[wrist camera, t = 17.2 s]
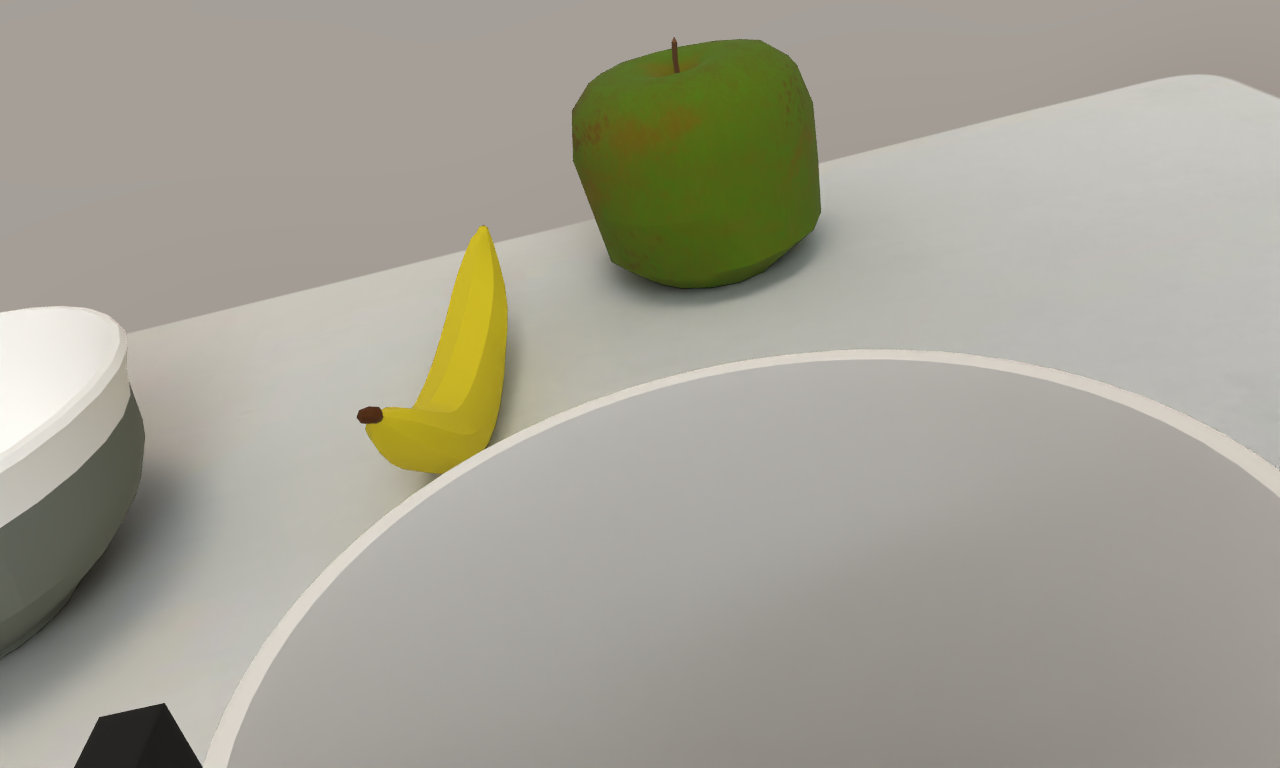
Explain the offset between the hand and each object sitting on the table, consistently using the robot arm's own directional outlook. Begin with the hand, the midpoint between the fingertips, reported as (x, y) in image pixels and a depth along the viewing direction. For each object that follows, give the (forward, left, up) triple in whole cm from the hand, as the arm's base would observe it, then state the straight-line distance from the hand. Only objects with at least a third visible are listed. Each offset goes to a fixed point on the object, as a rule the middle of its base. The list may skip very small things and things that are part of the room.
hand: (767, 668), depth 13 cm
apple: (+37, -20, -13) cm, 44 cm away
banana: (+32, -5, -13) cm, 35 cm away
